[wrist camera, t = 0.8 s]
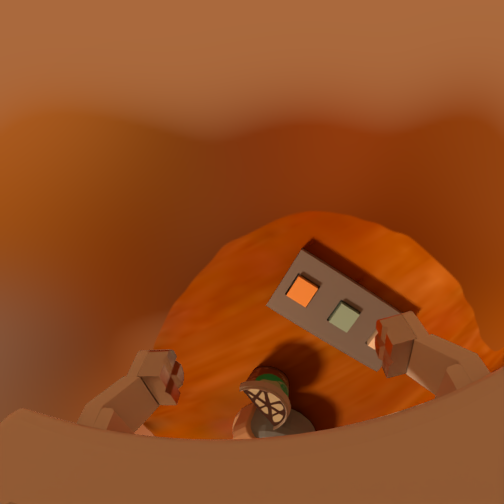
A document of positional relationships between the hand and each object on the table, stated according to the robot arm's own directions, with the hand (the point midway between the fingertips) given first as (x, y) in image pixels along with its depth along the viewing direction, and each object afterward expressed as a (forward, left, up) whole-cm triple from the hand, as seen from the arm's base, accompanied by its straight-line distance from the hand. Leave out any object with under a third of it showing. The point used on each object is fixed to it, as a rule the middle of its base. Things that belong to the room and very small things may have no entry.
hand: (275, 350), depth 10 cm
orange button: (-3, +7, -40) cm, 40 cm away
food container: (-10, +27, -42) cm, 51 cm away
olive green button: (-12, +7, -40) cm, 42 cm away
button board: (-12, +7, -42) cm, 44 cm away
